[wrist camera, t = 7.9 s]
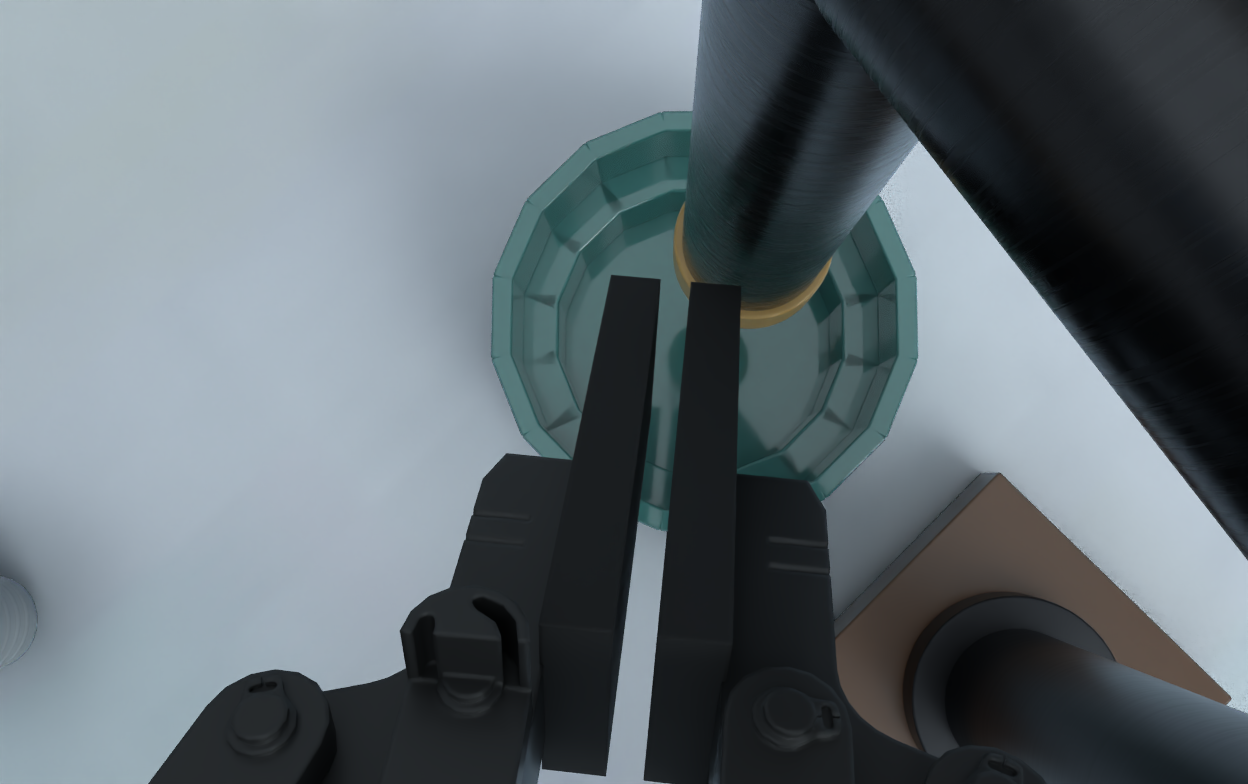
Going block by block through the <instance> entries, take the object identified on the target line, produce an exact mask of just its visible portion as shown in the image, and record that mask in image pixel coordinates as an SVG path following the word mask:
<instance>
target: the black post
mask: <svg viewBox="0 0 1248 784" xmlns="http://www.w3.org/2000/svg"><path fill="white" fill-rule="evenodd" d="M834 631H835V644H836V658H837V671H838V675H839V680H840V685H841V687H842V689H843V691H844V693H845V695H846V697H847V699H848V701H849V703H850V704H851V705H852V706H853V708H854V709H855V710H856V711H857V712H858V714H859V715H860V716H861V717H862V718H863V719H864V720H866V721H867V722H868V723H869V724H871V725H872V726H873V727H874V728H875V729H877V730H878V731H880V732H882V733H884V734H886V735H888V736H890V737H891V738H893V739H895V740H897V741H900V742H902V743H905V744H907V745H909V746H912V747H914V748H917V749H919V750H921V751H924V752H926V753H928V754H931V755H933V756H936V757H938V758H940V757H941V756H942V755H943V754H944V753H945V752H946V751H949V750H952V749H955V748H959V747H962V746H966V745H977V746H987V747H995V748H997V749H999V750H1002V751H1004V752H1006V753H1009V754H1011V755H1013V756H1016V757H1018V758H1020V759H1021V760H1022V761H1024V762H1025V763H1026V764H1027V765H1028V766H1030V767H1031V768H1032V769H1033V770H1035V771H1036V772H1037V773H1038V774H1039V775H1041V776H1042V777H1043V779H1044V780H1045V782H1046V783H1047V784H1248V714H1247V713H1244V712H1242V711H1239V710H1237V709H1234V708H1232V707H1229V706H1227V705H1226V704H1227V703H1228V702H1229V701H1230V700H1231V697H1230V695H1229V694H1228V693H1227V692H1226V691H1224V690H1223V689H1222V688H1221V687H1220V686H1219V685H1218V684H1217V683H1216V682H1215V681H1214V680H1213V679H1212V678H1211V677H1210V676H1209V675H1208V674H1207V673H1206V672H1205V671H1204V670H1203V669H1202V668H1201V667H1200V666H1199V665H1198V664H1197V663H1196V662H1195V661H1194V660H1193V659H1192V658H1191V657H1189V656H1188V655H1187V654H1186V653H1185V652H1184V651H1183V650H1182V649H1181V648H1180V647H1179V646H1178V645H1177V644H1176V643H1175V642H1174V641H1173V640H1172V639H1171V638H1170V637H1169V636H1168V635H1167V634H1166V633H1165V632H1164V631H1163V630H1162V629H1161V628H1160V627H1159V626H1158V625H1157V624H1155V623H1154V622H1153V621H1152V620H1151V619H1150V618H1149V617H1148V616H1147V615H1146V614H1145V613H1144V612H1143V611H1142V610H1141V609H1140V608H1139V607H1138V606H1137V605H1136V604H1135V603H1134V602H1133V601H1132V600H1131V599H1130V598H1129V597H1128V596H1127V595H1126V594H1125V593H1124V592H1123V591H1121V590H1120V589H1119V588H1118V587H1117V586H1116V585H1115V584H1114V583H1113V582H1112V581H1111V580H1110V579H1109V578H1108V577H1107V576H1106V575H1105V574H1104V573H1103V572H1102V571H1101V570H1100V569H1099V568H1098V567H1097V566H1096V565H1095V564H1094V563H1093V562H1092V561H1091V560H1090V559H1089V558H1087V557H1086V556H1085V555H1084V554H1083V553H1082V552H1081V551H1080V550H1079V549H1078V548H1077V547H1076V546H1075V545H1074V544H1073V543H1072V542H1071V541H1070V540H1069V539H1068V538H1067V537H1066V536H1065V535H1064V534H1063V533H1062V532H1061V531H1060V530H1059V529H1058V528H1057V527H1056V526H1055V525H1054V524H1052V523H1051V522H1050V521H1049V520H1048V519H1047V518H1046V517H1045V516H1044V515H1043V514H1042V513H1041V512H1040V511H1039V510H1038V509H1037V508H1036V507H1035V506H1034V505H1033V504H1032V503H1031V502H1030V501H1029V500H1028V499H1027V498H1026V497H1025V496H1024V495H1023V494H1022V493H1021V492H1020V491H1018V490H1017V489H1016V488H1015V487H1014V486H1013V485H1012V484H1011V483H1010V482H1009V481H1008V480H1007V479H1006V478H1005V477H1004V476H1003V475H1002V474H1001V473H982V474H980V475H979V476H978V477H977V478H976V479H975V480H974V481H973V482H972V483H971V484H970V485H969V486H968V487H967V488H966V489H965V490H964V491H963V492H962V493H961V494H960V495H959V496H958V497H957V498H956V499H955V500H954V501H953V502H952V503H951V504H950V505H949V506H948V507H947V508H946V509H945V510H944V511H943V512H942V513H941V514H940V515H939V516H938V517H937V518H936V519H935V520H934V521H933V522H932V523H931V524H930V525H929V526H928V527H927V528H926V529H925V530H924V531H923V532H922V533H921V535H920V536H919V537H918V538H917V539H916V540H915V541H914V542H913V543H912V544H911V545H910V546H909V547H908V548H907V549H906V550H905V551H904V552H903V553H902V554H901V555H900V556H899V557H898V558H897V559H896V560H895V561H894V562H893V563H892V564H891V565H890V566H889V567H888V568H887V569H886V570H885V571H884V572H883V573H882V574H881V575H880V576H879V577H878V578H877V579H876V580H875V581H874V582H873V583H872V584H871V585H870V586H869V587H868V588H867V589H866V590H865V591H864V592H863V593H862V594H861V595H860V596H859V597H858V598H857V599H856V600H855V601H854V602H853V603H852V604H851V605H850V606H849V607H848V608H847V609H846V610H845V611H844V612H843V613H842V614H841V615H840V616H839V617H838V618H837V619H836V620H835V621H834Z"/></svg>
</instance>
